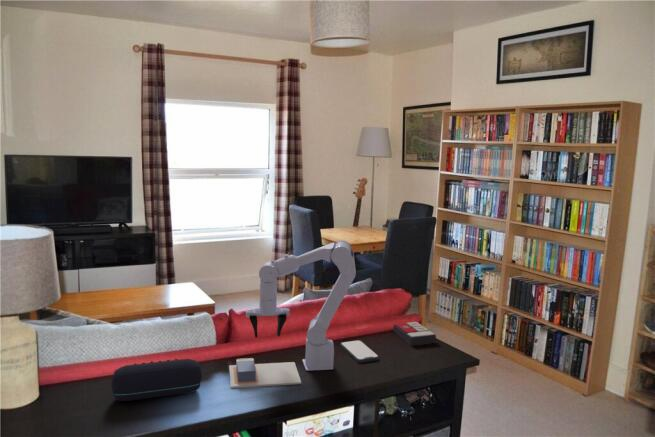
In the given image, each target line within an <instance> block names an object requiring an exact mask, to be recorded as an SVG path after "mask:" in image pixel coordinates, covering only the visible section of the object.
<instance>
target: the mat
mask: <svg viewBox="0 0 655 437" xmlns="http://www.w3.org/2000/svg"><path fill="white" fill-rule="evenodd" d="M254 364H255V369H256V381H245V382H238V378H237V371H236V364H232V365H228V370H229V371H228V372H229V382H230V389H240V388H259V387H273V386H274V387H276V386H290V385H302V380H301V377H300V375H299V371H298V369H297V366H296V363H295V362H294V361H291V362H290V361H288V362H270V363H254Z"/></svg>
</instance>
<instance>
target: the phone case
mask: <svg viewBox="0 0 655 437" xmlns="http://www.w3.org/2000/svg"><path fill="white" fill-rule="evenodd" d="M339 345H340V347H341V348H342V349H343V350H344V351H345V352H346V353H347V354H348V355H349V356H350V357H351V358H352V359H353V360H354V361H355V362H357V363H358V364H362V363H369V362H375V361H376V362H377V361H379V358H380V356H379V355H378V354H377V353H376V352H374V350H372V348H370V347H369V346H367V345H366V344H365V343H364V342H363V341H362V340H360V339H359V340H358V339H357V340H352V341H351V340H350V341H344V342H343V341H342V342H340V344H339Z"/></svg>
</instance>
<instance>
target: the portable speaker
mask: <svg viewBox="0 0 655 437" xmlns="http://www.w3.org/2000/svg"><path fill="white" fill-rule="evenodd" d="M202 377H203V375H202V368H201V366H200V363H199V362H198V361H197V360H195V359H191V358H182V359H178V358H177V359H176V358H175V359H173V360H172V359H167V360H163V361H162V360H159V361H151V362H142V363H134V364H128V365H124V366H120V367H118V368H116V370H114V372H113V376H112V379H111V390H112V394H113V396H114V399H115V400H116V401H119V402H129V401H130V402H131V401H136V400H137V401H138V400H146V399H153V398H161V397H169V396H177V395H184V394H189V393H193V392H196V391H198V390H199V389H200V386H201V382H202Z"/></svg>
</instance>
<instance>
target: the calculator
mask: <svg viewBox="0 0 655 437" xmlns="http://www.w3.org/2000/svg"><path fill="white" fill-rule="evenodd" d="M392 330H393V331H392V332H394V333H395V334H396V335H397V336H398V337H400V339H402V340H404V342H405V343H406V344H408V345H409V346H411V347H414V346H415V345H417V346H423V345H424V344H426V345H431V344H430V343H434V344H436V340H437V339H436V338H437V335H436V334H435V333H434V332H432V331H430V330H429V329H428V328H426V326H424V325H422V324H420V323H419V322H417V321H410V322H403V323H402V322H401V323H400V322H399V323H395V324H393V327H392ZM424 346H425V345H424ZM415 347H416V346H415Z"/></svg>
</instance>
